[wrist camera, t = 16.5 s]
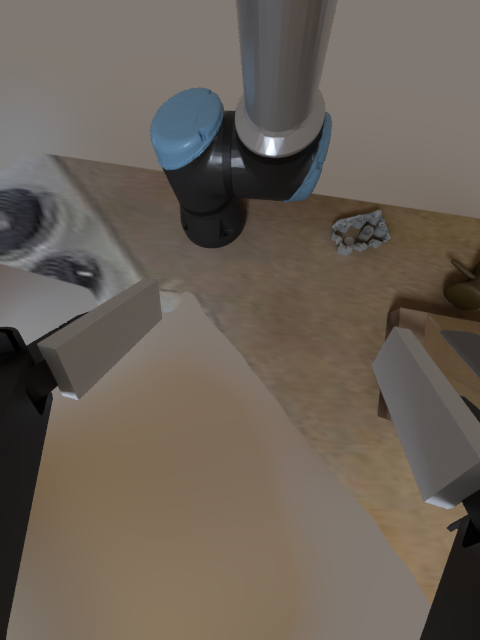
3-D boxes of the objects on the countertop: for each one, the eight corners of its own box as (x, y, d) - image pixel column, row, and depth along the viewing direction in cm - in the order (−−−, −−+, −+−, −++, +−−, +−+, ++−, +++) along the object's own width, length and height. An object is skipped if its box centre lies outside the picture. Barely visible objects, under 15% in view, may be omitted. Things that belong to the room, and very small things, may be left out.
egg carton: (337, 259, 49) (343, 249, 45) (327, 230, 51) (332, 218, 47) (385, 248, 49) (396, 237, 45) (374, 219, 51) (383, 206, 47)
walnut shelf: (387, 313, 45) (400, 307, 41) (475, 330, 43) (498, 325, 39) (377, 415, 41) (390, 420, 37) (474, 440, 39) (499, 447, 35)
